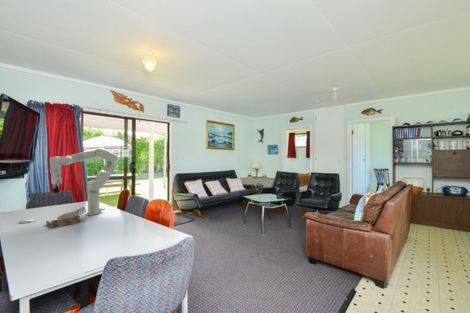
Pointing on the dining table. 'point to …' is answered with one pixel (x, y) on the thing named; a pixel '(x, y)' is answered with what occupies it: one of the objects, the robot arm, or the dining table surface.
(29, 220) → the white dome
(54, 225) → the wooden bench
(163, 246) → the dining table surface
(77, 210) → the candy bar box
